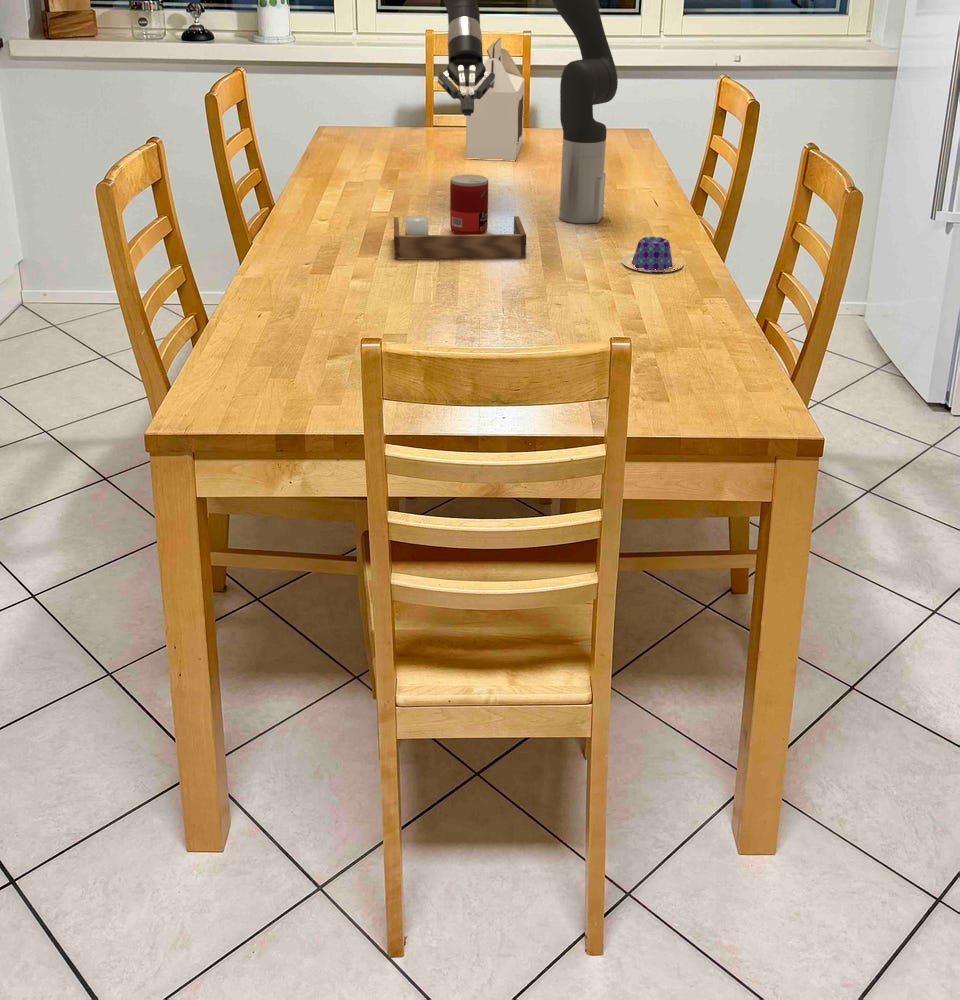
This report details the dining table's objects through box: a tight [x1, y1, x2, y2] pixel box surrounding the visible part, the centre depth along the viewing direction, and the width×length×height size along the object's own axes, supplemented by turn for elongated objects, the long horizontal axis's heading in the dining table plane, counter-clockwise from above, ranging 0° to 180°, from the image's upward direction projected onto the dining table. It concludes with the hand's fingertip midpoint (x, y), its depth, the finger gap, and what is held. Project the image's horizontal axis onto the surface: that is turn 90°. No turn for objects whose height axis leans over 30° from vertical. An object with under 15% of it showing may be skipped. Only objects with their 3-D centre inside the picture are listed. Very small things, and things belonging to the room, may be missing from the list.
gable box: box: [465, 37, 526, 161], centre depth 304 cm, size 22×13×28 cm, turn 173°
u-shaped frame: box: [393, 215, 527, 259], centre depth 233 cm, size 26×14×4 cm, turn 94°
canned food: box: [449, 174, 489, 235], centre depth 242 cm, size 8×8×11 cm
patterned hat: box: [621, 236, 684, 273], centre depth 225 cm, size 12×12×5 cm
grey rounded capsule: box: [404, 214, 429, 235], centre depth 229 cm, size 5×5×7 cm
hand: (467, 113), depth 247 cm, fingers closed
